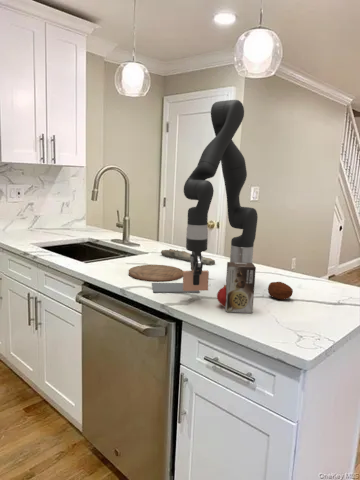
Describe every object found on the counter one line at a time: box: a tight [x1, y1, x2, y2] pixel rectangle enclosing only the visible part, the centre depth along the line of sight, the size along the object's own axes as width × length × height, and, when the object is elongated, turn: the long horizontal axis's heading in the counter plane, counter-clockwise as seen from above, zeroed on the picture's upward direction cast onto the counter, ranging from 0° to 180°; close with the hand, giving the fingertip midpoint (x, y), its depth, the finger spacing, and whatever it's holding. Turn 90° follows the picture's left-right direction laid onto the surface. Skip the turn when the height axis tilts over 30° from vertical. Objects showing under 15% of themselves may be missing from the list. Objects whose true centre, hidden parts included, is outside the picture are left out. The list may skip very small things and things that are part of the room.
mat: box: [151, 282, 201, 294], centre depth 154 cm, size 18×12×1 cm, turn 98°
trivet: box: [128, 264, 184, 283], centre depth 175 cm, size 25×25×2 cm
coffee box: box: [224, 261, 257, 314], centre depth 131 cm, size 9×6×16 cm
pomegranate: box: [216, 284, 226, 308], centre depth 134 cm, size 6×6×8 cm
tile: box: [182, 270, 210, 292], centre depth 139 cm, size 9×2×7 cm, turn 98°
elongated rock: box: [160, 248, 216, 266], centre depth 208 cm, size 35×5×10 cm
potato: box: [267, 281, 294, 301], centre depth 147 cm, size 7×9×6 cm
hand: (195, 283), depth 139 cm, fingers closed on tile, 1 cm apart
